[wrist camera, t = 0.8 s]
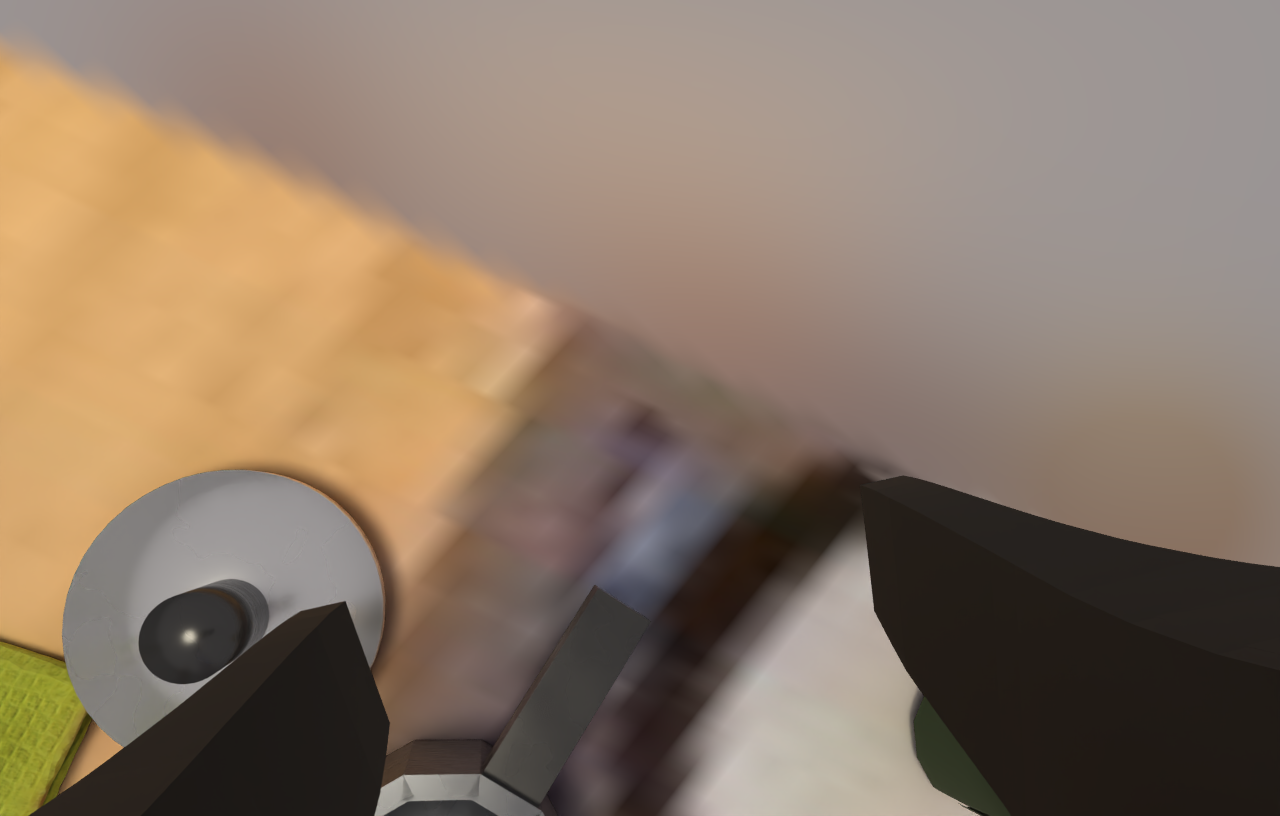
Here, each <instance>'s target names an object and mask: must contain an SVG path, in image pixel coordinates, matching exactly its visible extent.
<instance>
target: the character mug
mask: <svg viewBox="0 0 1280 816" xmlns="http://www.w3.org/2000/svg"><path fill="white" fill-rule="evenodd" d="M914 731H915V741H916V751H917V758H918V760H919V762H920V764H921V765H922V767H923V769H924V771H925V773H926V775H927V776H928V778H929V780H930V782H931V784H932V786H933V787H935V788H936V789H938V790H939V791H941V792H943V793H945V794H947V795H948V796H950V797H952V798H954V799H956V800H958V801H960V802H962V803H964V804H966V805H968V806H970V807H965V806H963V805H962V806H963V807H965V808H967V809H969V810H971V811H973V812H975V813H977V814H979V815H980V816H1011V815H1010V813H1009V812H1008V810H1007V809H1006V807H1005V806H1004V804H1003V803H1002V802H1001V800H1000V799H999V798H998V796H997V795H996V793H995V792H994V791H993V789H992V788H991V787H990V785H989V784H988V783H987V781H986V780H985V778H984V777H983V776H982V774H981V773H980V772H979V770H978V769H977V768H976V766H975V765H974V763H973V762H972V761H971V759H970V758H969V757H968V755H967V754H966V752H965V751H964V750H963V748H962V747H961V746H960V744H959V743H958V742H957V740H956V739H955V737H954V736H953V735H952V733H951V732H950V731H949V729H948V728H947V727H946V725H945V724H944V722H943V721H942V720H941V718H940V717H939V716H938V714H937V713H936V711H935V710H934V709H933V707H932V706H931V704H930V703H929V702H928V700H927V699H926V698H925V696H924V698H923V700H922V702H921V705H920V707H919V710H918V712H917V714H916V717H915V719H914ZM960 805H961V804H960Z"/></svg>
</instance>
